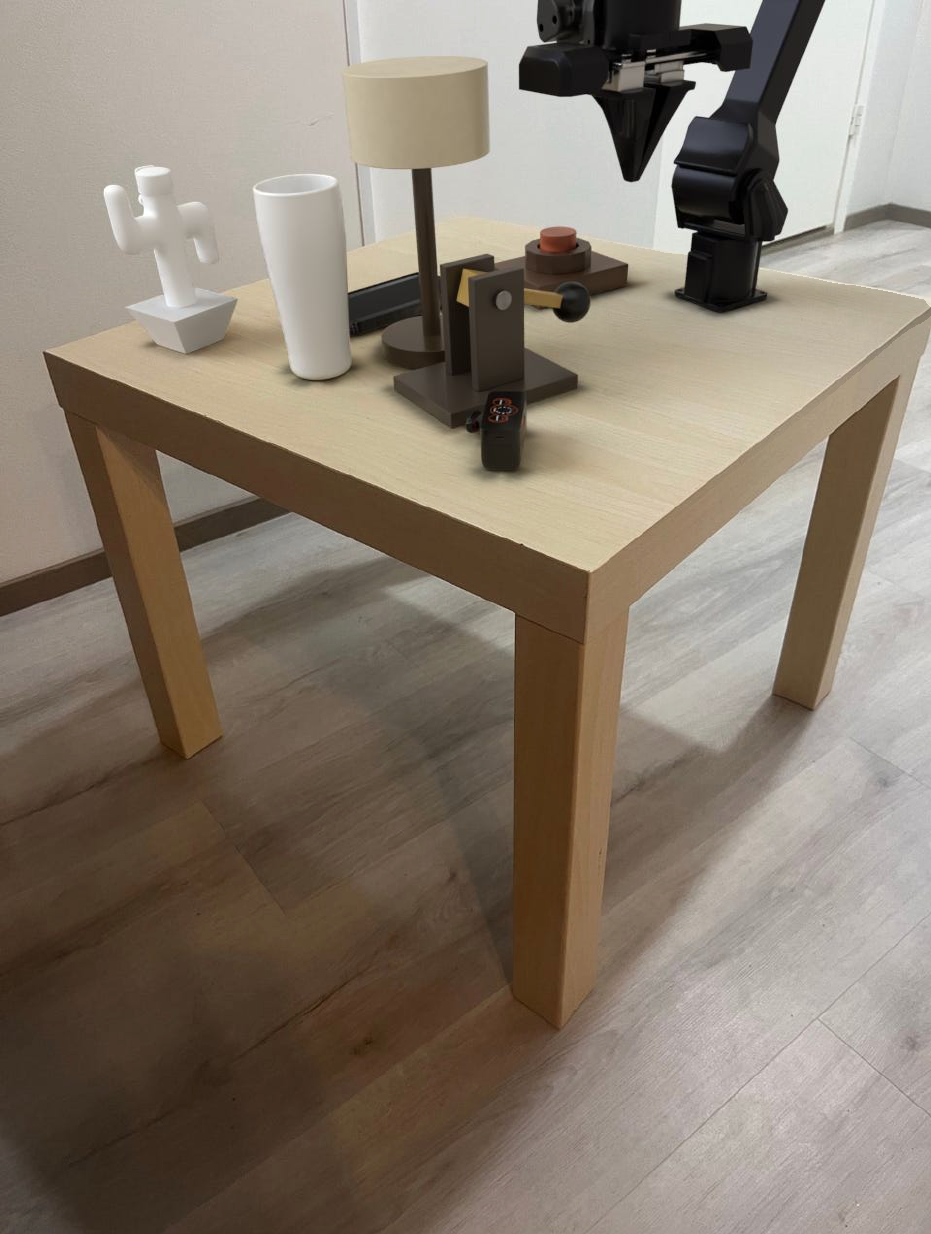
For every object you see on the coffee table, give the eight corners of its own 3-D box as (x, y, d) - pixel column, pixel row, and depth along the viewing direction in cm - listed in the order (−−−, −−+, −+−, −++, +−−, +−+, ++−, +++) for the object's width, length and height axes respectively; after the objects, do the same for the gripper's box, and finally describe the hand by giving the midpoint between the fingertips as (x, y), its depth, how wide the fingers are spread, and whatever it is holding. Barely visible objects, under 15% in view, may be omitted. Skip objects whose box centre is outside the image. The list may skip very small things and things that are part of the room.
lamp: (453, 319, 89) (439, 52, 76) (519, 353, 82) (516, 64, 68) (350, 346, 85) (317, 68, 72) (410, 385, 77) (385, 82, 64)
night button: (561, 242, 96) (561, 224, 94) (583, 250, 93) (583, 231, 92) (532, 249, 94) (532, 230, 93) (554, 257, 92) (554, 238, 91)
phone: (301, 306, 90) (422, 270, 98) (303, 318, 91) (423, 280, 98) (347, 326, 85) (471, 286, 93) (349, 338, 86) (472, 297, 93)
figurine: (254, 334, 88) (223, 161, 79) (172, 366, 83) (128, 184, 74) (206, 319, 92) (171, 153, 83) (125, 349, 86) (77, 175, 77)
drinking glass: (328, 392, 77) (301, 198, 68) (266, 377, 80) (232, 189, 71) (376, 363, 81) (357, 177, 72) (316, 350, 84) (290, 170, 75)
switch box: (573, 265, 101) (574, 226, 99) (627, 285, 95) (629, 245, 92) (488, 286, 97) (487, 246, 94) (539, 309, 90) (539, 267, 88)
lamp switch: (514, 355, 82) (513, 238, 76) (577, 388, 75) (581, 264, 69) (394, 389, 77) (382, 268, 71) (451, 428, 70) (444, 299, 65)
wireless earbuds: (528, 427, 70) (527, 386, 68) (520, 473, 64) (520, 430, 62) (466, 426, 71) (464, 386, 69) (453, 472, 65) (451, 429, 63)
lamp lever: (568, 318, 79) (578, 279, 78) (592, 329, 77) (603, 289, 75) (451, 304, 72) (460, 261, 71) (473, 315, 70) (483, 271, 69)
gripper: (667, -62, 76) (652, 149, 85) (474, -47, 68) (481, 182, 78) (771, -63, 68) (742, 169, 78) (567, -46, 61) (562, 208, 70)
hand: (631, 181), depth 76 cm, fingers closed
